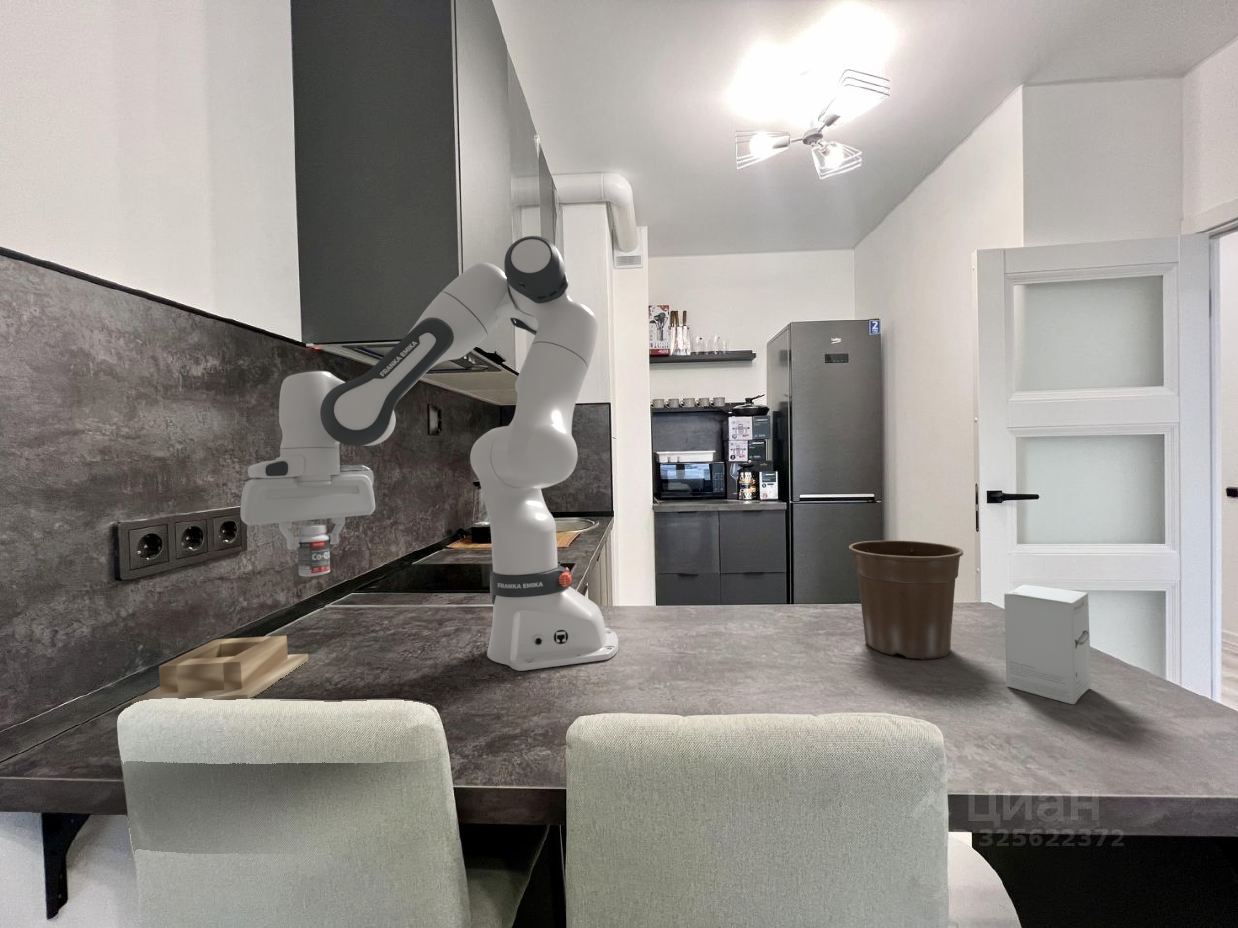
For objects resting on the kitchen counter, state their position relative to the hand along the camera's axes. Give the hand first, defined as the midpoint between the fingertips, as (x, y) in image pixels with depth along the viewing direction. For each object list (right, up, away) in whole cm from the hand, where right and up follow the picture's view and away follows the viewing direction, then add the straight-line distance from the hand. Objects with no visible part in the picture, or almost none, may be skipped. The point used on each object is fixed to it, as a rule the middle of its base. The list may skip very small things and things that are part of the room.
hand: (313, 546), depth 93 cm
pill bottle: (0, -5, 0) cm, 5 cm away
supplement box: (+109, -15, -22) cm, 112 cm away
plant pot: (+99, -16, -5) cm, 101 cm away
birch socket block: (-9, -20, -8) cm, 23 cm away
